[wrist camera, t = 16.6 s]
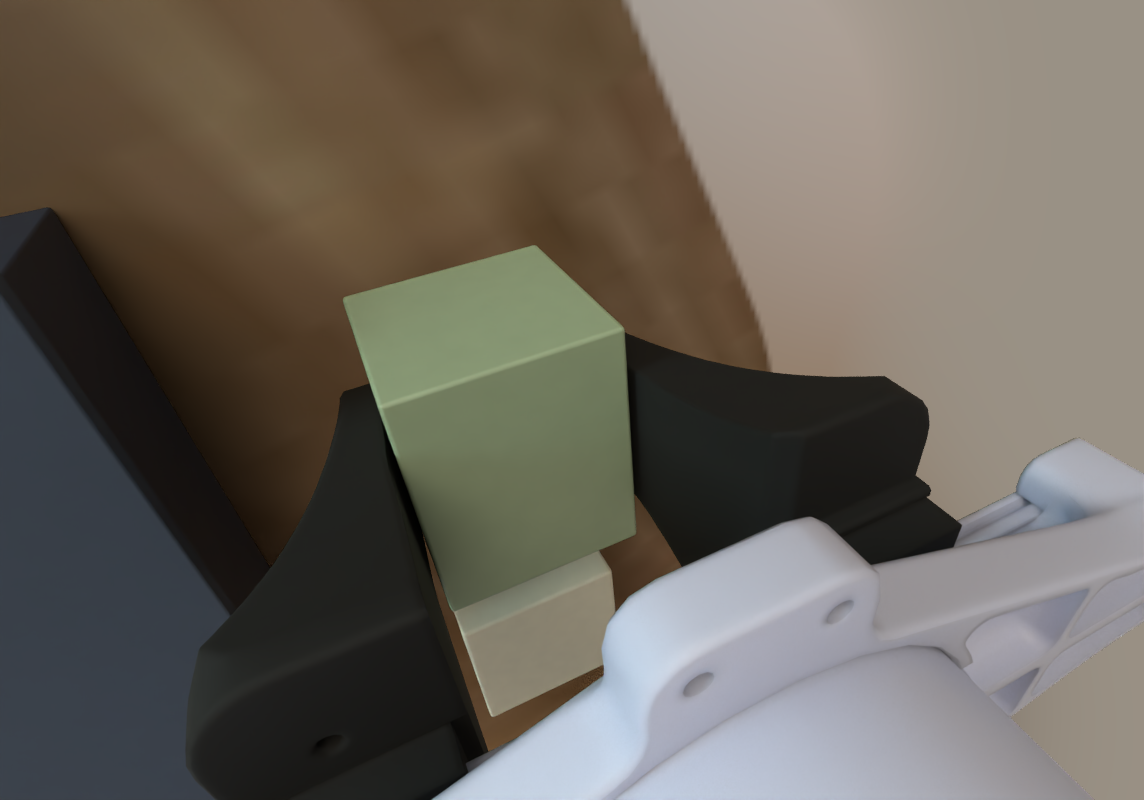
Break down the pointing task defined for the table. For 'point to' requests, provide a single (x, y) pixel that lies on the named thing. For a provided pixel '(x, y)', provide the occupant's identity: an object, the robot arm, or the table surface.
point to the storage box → (98, 542)
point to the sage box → (502, 416)
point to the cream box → (539, 632)
